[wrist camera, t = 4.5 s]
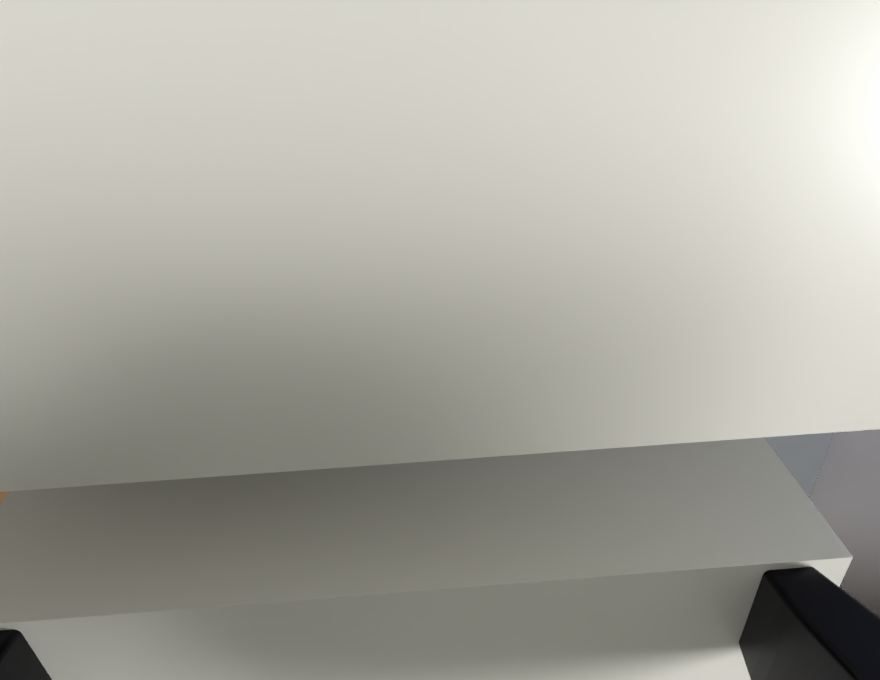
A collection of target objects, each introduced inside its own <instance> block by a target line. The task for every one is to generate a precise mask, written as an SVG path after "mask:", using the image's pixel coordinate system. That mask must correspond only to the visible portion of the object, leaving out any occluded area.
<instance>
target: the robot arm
mask: <svg viewBox="0 0 880 680" xmlns="http://www.w3.org/2000/svg"><path fill="white" fill-rule="evenodd" d="M739 646H740V649H741V652H742V655H743V658H744V661H745V664H746V667H747V670H748V673H749V676H750V679H751V680H880V618H879V617H878V616H877V615H875V614H874V613H873V612H871V611H870V610H869V609H867V608H866V607H865V606H864V605H862V604H861V603H860V602H858V601H857V600H856V599H854V598H853V597H852V596H851V595H849V594H848V593H847V592H845V591H844V590H843V589H841V588H840V587H839V586H837V585H836V584H835V583H834V582H832V581H831V580H830V579H828V578H827V577H826V576H824V575H823V574H822V573H821V572H819V571H818V570H817V569H815V568H814V567H801V568H788V569H776V570H768V571H766V572H764V574H763V576H762V578H761V581H760V584H759V587H758V590H757V592H756V595H755V598H754V601H753V604H752V606H751V609H750V612H749V615H748V618H747V620H746V623H745V626H744V629H743V631H742V634H741V637H740V640H739ZM0 680H52V679H51V677H50V676H49V674H48V673H47V671H46V670H45V668H44V667H43V665H42V663H41V662H40V660H39V659H38V657H37V656H36V654H35V653H34V651H33V650H32V648H31V647H30V645H29V644H28V642H27V641H26V639H25V638H24V636H23V634H22V633H21V632H20V631H18V630H13V629H12V630H0Z"/></svg>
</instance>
